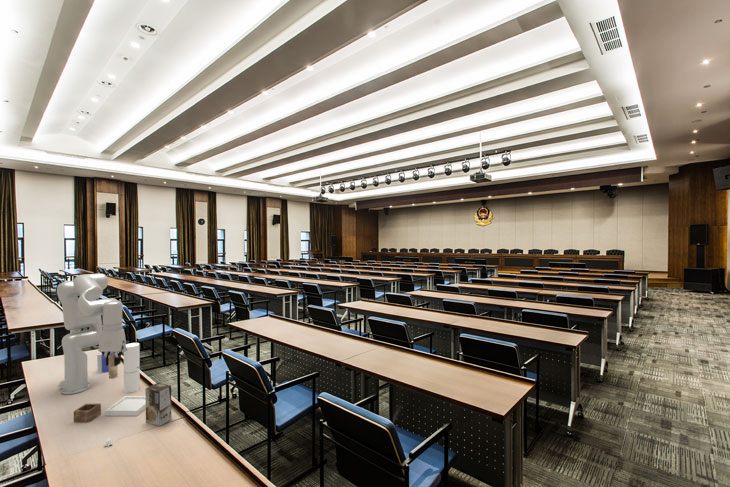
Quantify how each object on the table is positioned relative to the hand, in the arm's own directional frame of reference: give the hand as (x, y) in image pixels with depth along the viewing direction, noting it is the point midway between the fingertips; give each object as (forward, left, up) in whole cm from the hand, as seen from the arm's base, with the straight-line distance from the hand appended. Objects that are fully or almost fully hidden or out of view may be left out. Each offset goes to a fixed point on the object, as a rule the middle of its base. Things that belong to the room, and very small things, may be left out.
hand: (113, 364), depth 162 cm
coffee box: (+26, -7, -24) cm, 36 cm away
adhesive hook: (+17, -26, -24) cm, 39 cm away
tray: (+6, +4, -24) cm, 24 cm away
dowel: (0, 0, -6) cm, 6 cm away
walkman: (-37, +46, -24) cm, 64 cm away
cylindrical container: (-6, +23, -24) cm, 34 cm away
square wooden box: (-8, -5, -24) cm, 26 cm away
